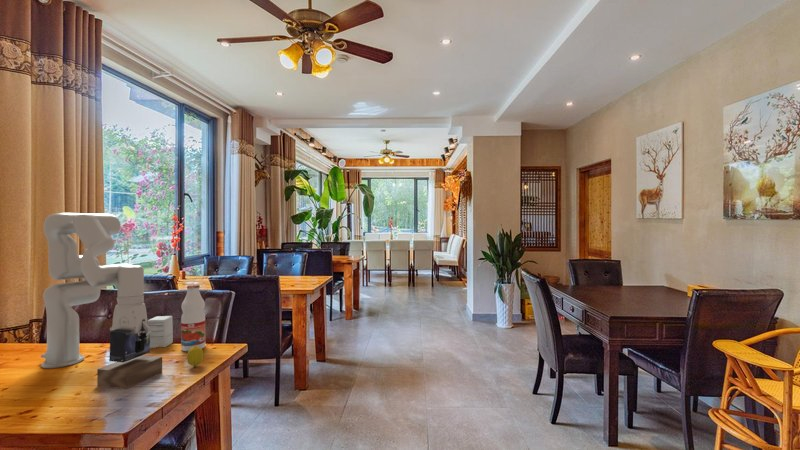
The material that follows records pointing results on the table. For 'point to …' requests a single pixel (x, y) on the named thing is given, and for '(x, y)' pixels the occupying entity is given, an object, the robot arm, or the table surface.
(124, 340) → the small box
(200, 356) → the lemon
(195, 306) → the fruit juice
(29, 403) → the table surface
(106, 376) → the walnut block
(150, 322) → the supplement box
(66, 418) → the table surface
